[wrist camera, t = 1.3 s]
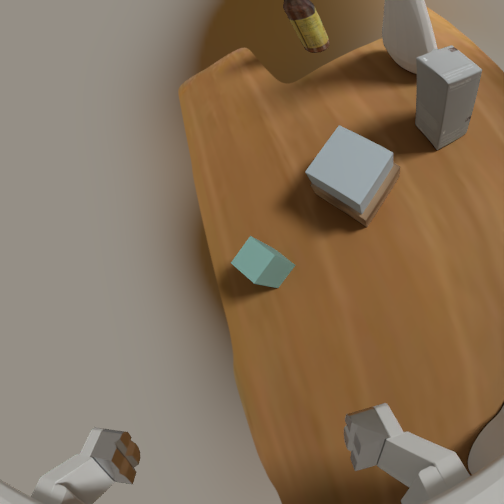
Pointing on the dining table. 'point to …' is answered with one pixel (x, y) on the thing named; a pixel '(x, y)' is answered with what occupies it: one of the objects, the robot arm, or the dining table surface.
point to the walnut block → (372, 206)
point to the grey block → (350, 168)
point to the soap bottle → (407, 32)
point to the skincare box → (445, 94)
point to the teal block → (262, 263)
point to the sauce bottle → (307, 24)
